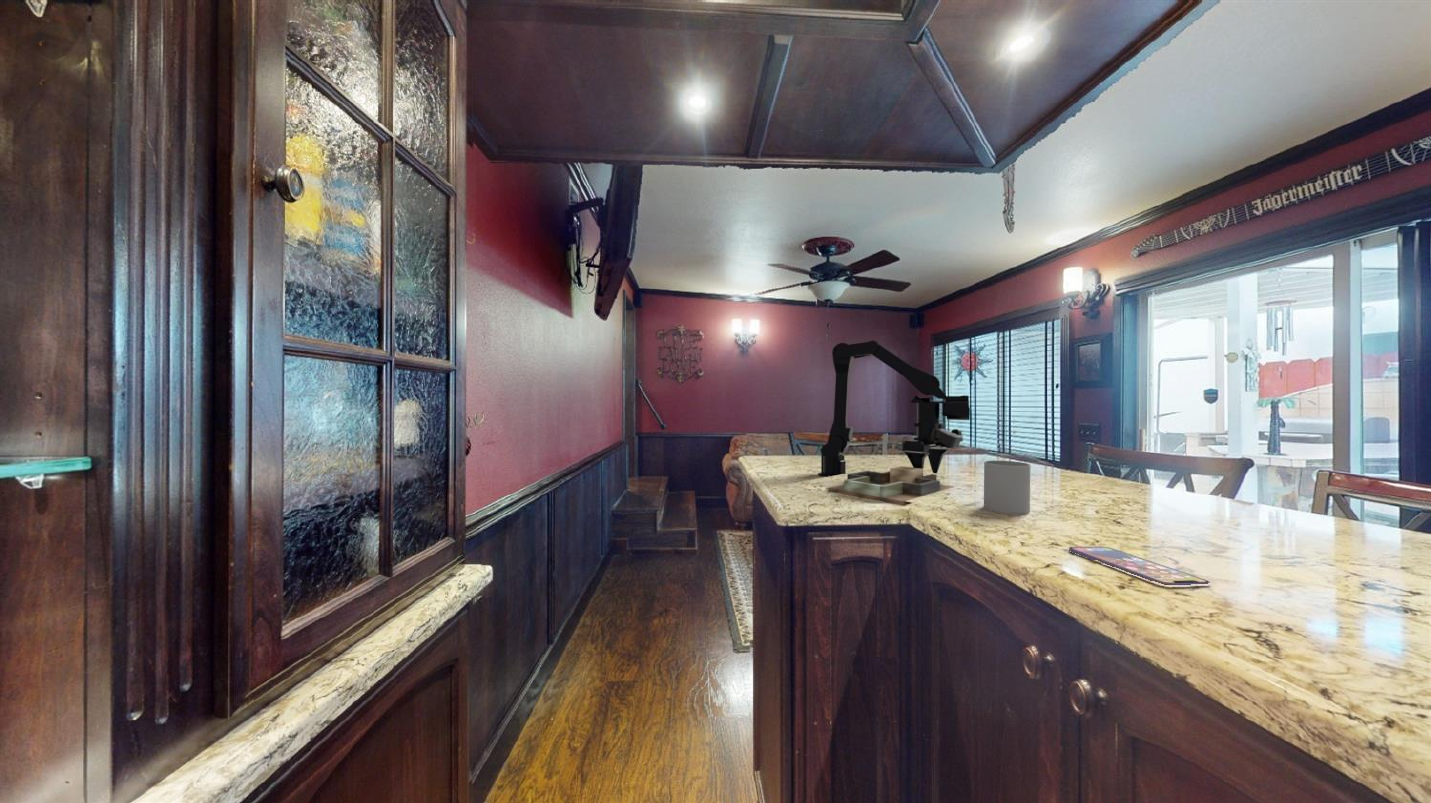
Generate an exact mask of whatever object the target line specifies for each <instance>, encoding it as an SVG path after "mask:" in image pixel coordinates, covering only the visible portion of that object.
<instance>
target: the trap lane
mask: <svg viewBox="0 0 1431 803" xmlns="http://www.w3.org/2000/svg"><path fill="white" fill-rule="evenodd" d="M846 474H847V479H844V481H843V484H839V485H835V486H829V487H828V490H827V491H828V493H833V494H834V493H835V494H838V493H839V495H845V496H850V497H856V498H861V499H865V498H867V499H866V500H870V499H871V501H872V500H873V501H876V502H882V503H888V504H892V505H898V506H903V507H905V506H907V505H911V504H914V502H912V501H910V500H914V499H917V498H920V497H923V496H927V495H931V494H934V493H938V492H942V491H945V490H948V489H949V490H950V489H952V488H954V486H951V485H945V484H941V482H940V481H941V480H939V479H937V477H938V475H937V474H936V473H931V474H926V475H923V476H922V477H917V478H915V483H909V482H902V481H900V482H895V483H891V484H890V470H889V471H885V472H881V471H880V472H878V471H873V470H872V471H871V470H864V471H858V472H853V473H846Z"/></svg>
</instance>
